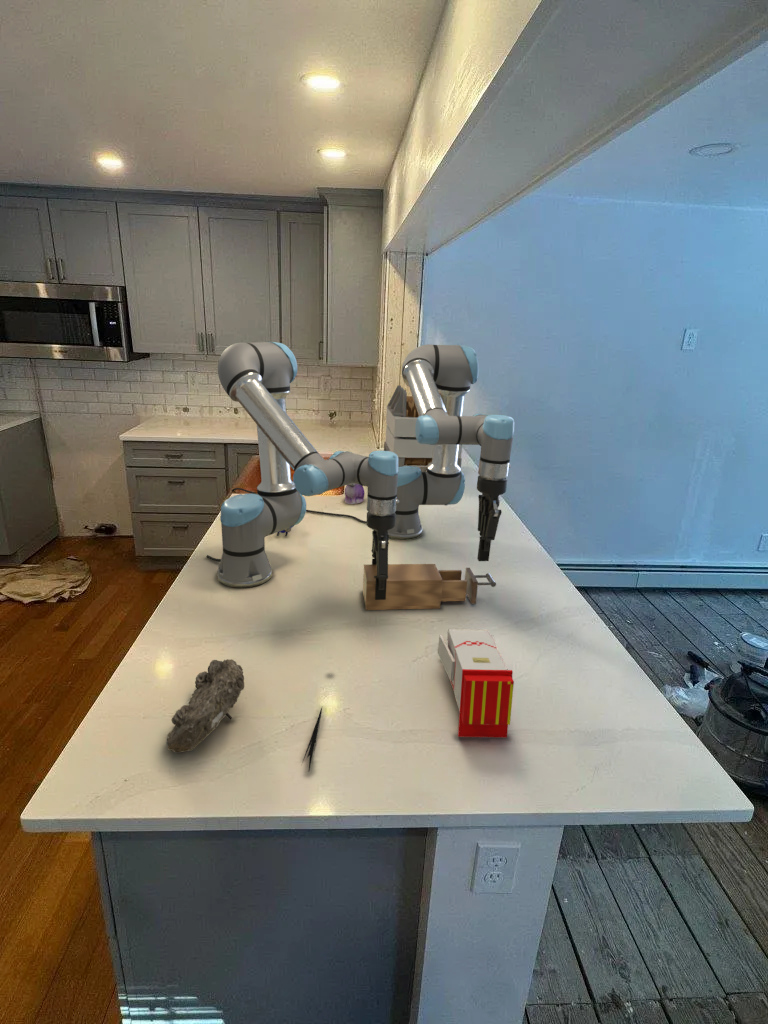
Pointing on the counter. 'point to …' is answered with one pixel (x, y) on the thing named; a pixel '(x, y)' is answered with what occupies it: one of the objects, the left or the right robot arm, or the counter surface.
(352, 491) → the figurine
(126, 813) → the counter surface
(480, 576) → the drawer
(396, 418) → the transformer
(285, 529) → the figurine character
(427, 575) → the cabinet
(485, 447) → the right robot arm
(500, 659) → the toy
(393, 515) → the left robot arm
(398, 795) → the counter surface
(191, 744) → the fossil
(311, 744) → the feather
